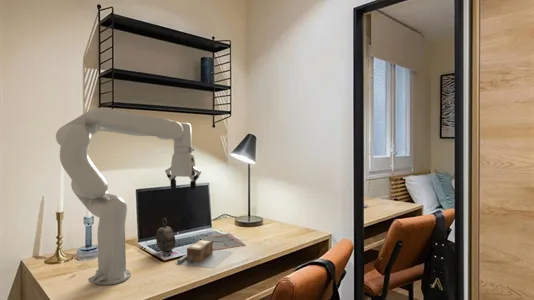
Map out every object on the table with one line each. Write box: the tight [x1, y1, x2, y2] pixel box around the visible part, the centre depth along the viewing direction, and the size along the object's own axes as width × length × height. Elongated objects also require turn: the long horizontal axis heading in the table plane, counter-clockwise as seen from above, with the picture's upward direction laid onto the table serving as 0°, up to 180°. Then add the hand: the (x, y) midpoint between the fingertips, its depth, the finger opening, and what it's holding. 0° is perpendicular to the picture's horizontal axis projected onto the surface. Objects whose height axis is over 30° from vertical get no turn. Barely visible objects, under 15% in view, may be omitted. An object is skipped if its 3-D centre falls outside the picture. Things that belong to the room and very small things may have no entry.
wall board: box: [174, 249, 233, 269], centre depth 145 cm, size 20×18×4 cm
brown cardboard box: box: [186, 239, 213, 262], centre depth 146 cm, size 12×6×6 cm, turn 164°
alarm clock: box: [155, 217, 176, 252], centre depth 154 cm, size 11×5×16 cm, turn 45°
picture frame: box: [199, 233, 246, 250], centre depth 167 cm, size 16×2×22 cm
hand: (183, 189), depth 148 cm, fingers open, 9 cm apart
